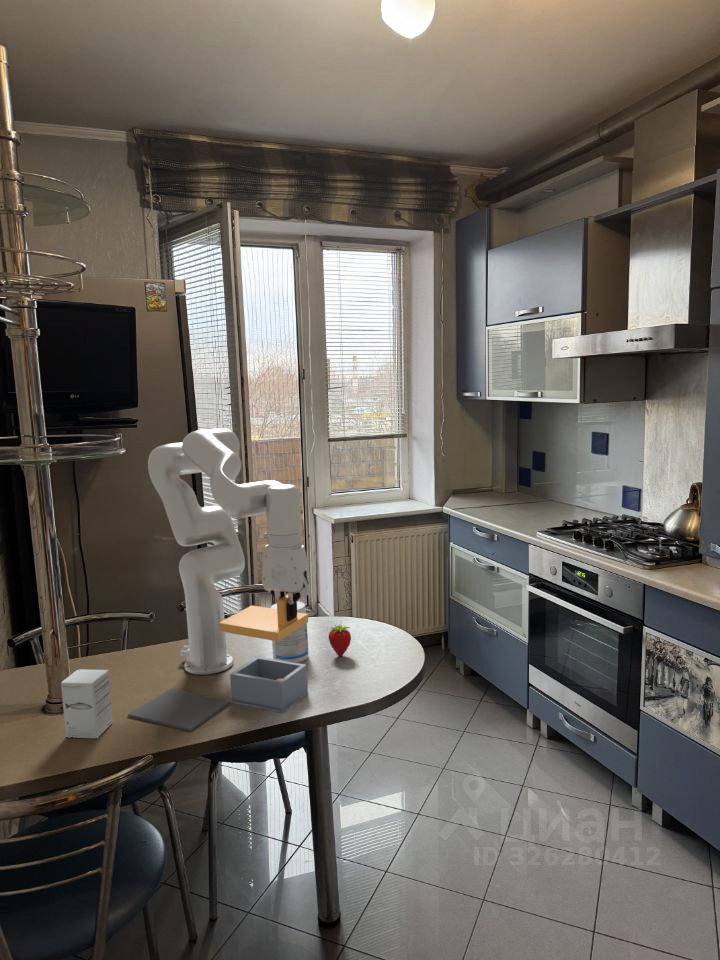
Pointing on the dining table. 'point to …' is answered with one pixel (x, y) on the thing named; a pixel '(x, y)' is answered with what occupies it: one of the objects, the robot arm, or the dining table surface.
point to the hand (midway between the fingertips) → (287, 618)
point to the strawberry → (339, 639)
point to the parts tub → (269, 684)
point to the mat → (179, 709)
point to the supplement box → (87, 703)
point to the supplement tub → (292, 642)
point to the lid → (264, 622)
